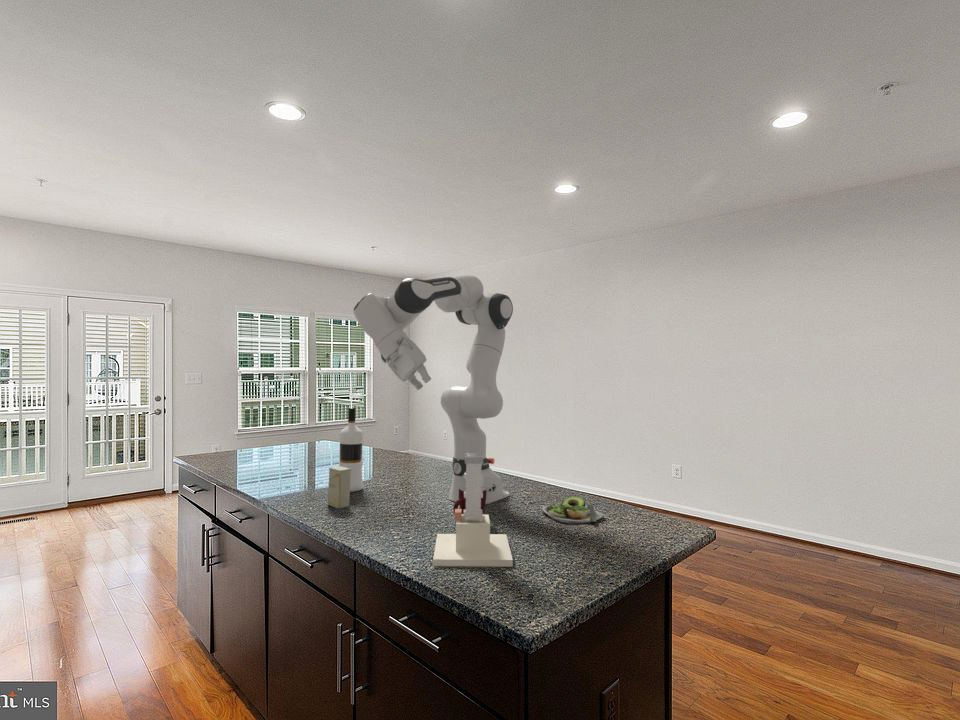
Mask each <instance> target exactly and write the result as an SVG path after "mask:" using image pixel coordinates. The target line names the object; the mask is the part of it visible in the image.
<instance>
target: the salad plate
mask: <svg viewBox="0 0 960 720" xmlns="http://www.w3.org/2000/svg"><path fill="white" fill-rule="evenodd" d="M541 511H542V513H543V515H545V516H547V517H548V518H551V519H552V520H555V521H556V522H560V523H562V524H563V523H564V524H569V525H570V524H571V525H574V524H575V525H576V524H577V525H578V524H579V525H580V523H581V524H591V522H592V523H596V522H597V521H599V520H601V519H602V518H603V516H604V515H603V513H602V512H599V511H598V510H595V509H594V506H593V505H592V504H588V503H587V504H586V501H585V498H582V497H580V496H569V497H565V498H564V499H563V500H562V501H561V503H560V504H557V505H556V504H551V505H544V506H543V507H542V509H541ZM564 517H565V518H564Z"/></svg>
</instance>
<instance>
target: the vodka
mask: <svg viewBox="0 0 960 720" xmlns="http://www.w3.org/2000/svg"><path fill="white" fill-rule="evenodd" d="M347 414H348V415H347V417H348V418H347V420H348V421H347V426H346V427H344V428H343V429H341V431H340V432H339V461H338V466H341V467H346V468H349V469H351V476H350V493H355V491H357V492H360V491H361V490H363V488H364V481H363V475H362V474H363V472H362V470H363V443H364V441H363V439H364V438H363V437H364V432H363V430H362V429H361V428H359V427H358V426H357V425H356V407H348V412H347Z"/></svg>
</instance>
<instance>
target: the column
mask: <svg viewBox="0 0 960 720" xmlns="http://www.w3.org/2000/svg"><path fill="white" fill-rule="evenodd" d="M465 464H466V472H464V479H466V491H464V498H466V509H464V516H463V517H465V523H480V520H481V517H483V515H484V513H483V511H482V509H481V498H483V491H481V479H483V473H481V464H483V453H465Z"/></svg>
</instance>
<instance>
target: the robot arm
mask: <svg viewBox="0 0 960 720" xmlns="http://www.w3.org/2000/svg"><path fill="white" fill-rule="evenodd" d="M484 291H485V290H484V286H483V283H482V281H481V280H480V278H478V277H477V276H475V275H470V274H469V275H458V276H453V277H452V276H446V277H436V278H429V279H422V278H414V277H409V278H407V277H406V278H405V279H403V280H402V281H400V283H399V285H398V286H397V288H396V289H395V290H394V291H393V292H392V294H391V295H390V296H385V297H382V296H378V295H375V294H374V293H373V292H370V293H368V294H365V295H364V296H363V297H362V298H361V299H360V300H358V302H357V303H356V305H355V306H354V307H353V314H354V317H355V319H356V320H357V323H358V324H359V325H360V327H361V328H362V330H363V331H364V332H365V334H367V335H368V336H369V337H370V338H371V340H372V341H373V343H374V345H375V347H376V348H377V350H378V351H379V354H380V359H381V360H382V362H383V363H384V364H387V366H388V367H389V368H390V370H391V371H392V373H393V374H394V375H395V376H396V377H397V378H398V379H399V380H400V381H401V382H403V383H404V382H406V381H408V382H409V383H410V384H411V385H412V386H413V387H415V389H416V390H417V391H420V390H421V389H422V388H423V387H424V385H423V384H422V382H421V381H419V380H418V379H417V378H416V375H415V374H416V372H417V373H418V374H419V375H420V377H421V380H422V381H423V382H424V383H425V384H427V383H429V382H430V381H431V380H432V378H431V376H430V374H429V373H428V370H427V368H426V366H425V363H426V362H427V360H428V359H427V357H426V355H425V353H423V351H422V349H421V348H420V347H419V346H418V345H417V344H416V343H415V342H414V341H413V340H412V339H411V338H410V337H409V336H408V335H407V333H406V332H405V331H404V329H406V328H407V327H408V326H409V325H411V324H412V323H413V322H414V320H416V319H417V318H418V317H419V316H420V315H421V314H422V313H423V312H424V311H426V309H427V308H429V307H431V304H432V303H435V304H436V306H437V308H439V309H440V310H441V311H442V312H444V313H454V314H455V316H456V318H457V320H458V321H459V323H462V324H464V325H469V326H471V325H474V326H477V332H476V335H475V337H474V340H473V341H472V346H471V348H470V351H469V355H468V358H467V361H466V363H465V364H466V366H465V367H466V370H467V372H468V373H469V374H470V384H469V385H462V384H457V385H453V386H449V387H447V388H444V389H445V390H443V392H442V393H441V396H440V405H441V408H442V409H443V411H444V412H445V413H446V414H447V416H448V418H449V421H450V424H451V427H452V433H453V447H454V449H453V451H454V452H453V457H452V471H453V473H452V479H451V485H450V486H451V487H450V491H449V495H448V500H450V501H452V502H454V503H455V502H456V501H457V500H459V488H460V487H462V486H466V479H464V472H466V464H465V453H483V464H481V473H483V479H481V486H482V487H485V488H486V503H485V505H488V504H492V503H494V502H497V501H501V500H502V499H505V498H508V497H510V496H511V494H510V492H509V491H508V490H504V482H503V479H502V477H501V476H499V474H497V473H496V472H495V471H494V470H493V469H491V467H490V465H494V464H495V459H494V457H493V458H492V457H488V458H487V435H486V432H485V431H484V430H483V429H482V428H481V426H480V425H479V423H478V419H480V420H484V419H491V418H496V417H497V416H499V414H500V413H501V411H502V409H503V406H504V400H503V396H502V393H501V392H500V391H499V389H498V384H497V372H498V369H499V365H500V361H501V358H502V354H503V351H504V346H505V340H506V330H505V328H506V326H507V325H508V323H509V322H510V320H511V317H512V315H513V314H514V313H513V311H514V306H513V302H512V299H511V298H510V296H508V295H506V294H503V293H499V292H496V293H489V292H488V293H484Z"/></svg>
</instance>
